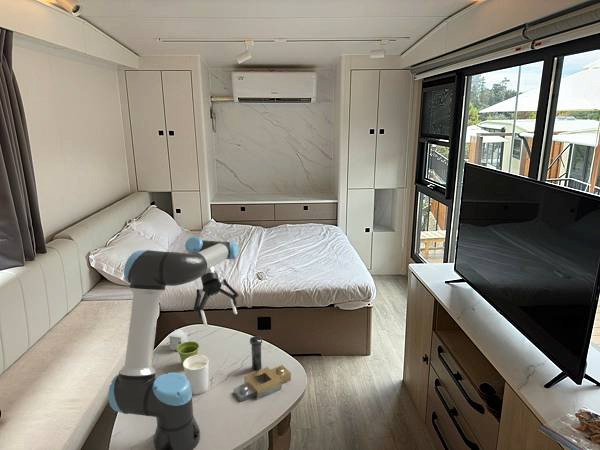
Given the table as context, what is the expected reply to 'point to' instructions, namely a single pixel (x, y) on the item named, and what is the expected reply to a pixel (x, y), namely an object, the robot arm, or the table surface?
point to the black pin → (256, 352)
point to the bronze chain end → (274, 376)
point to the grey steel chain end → (247, 392)
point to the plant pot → (187, 350)
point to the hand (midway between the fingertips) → (220, 319)
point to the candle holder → (197, 373)
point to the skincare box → (177, 338)
